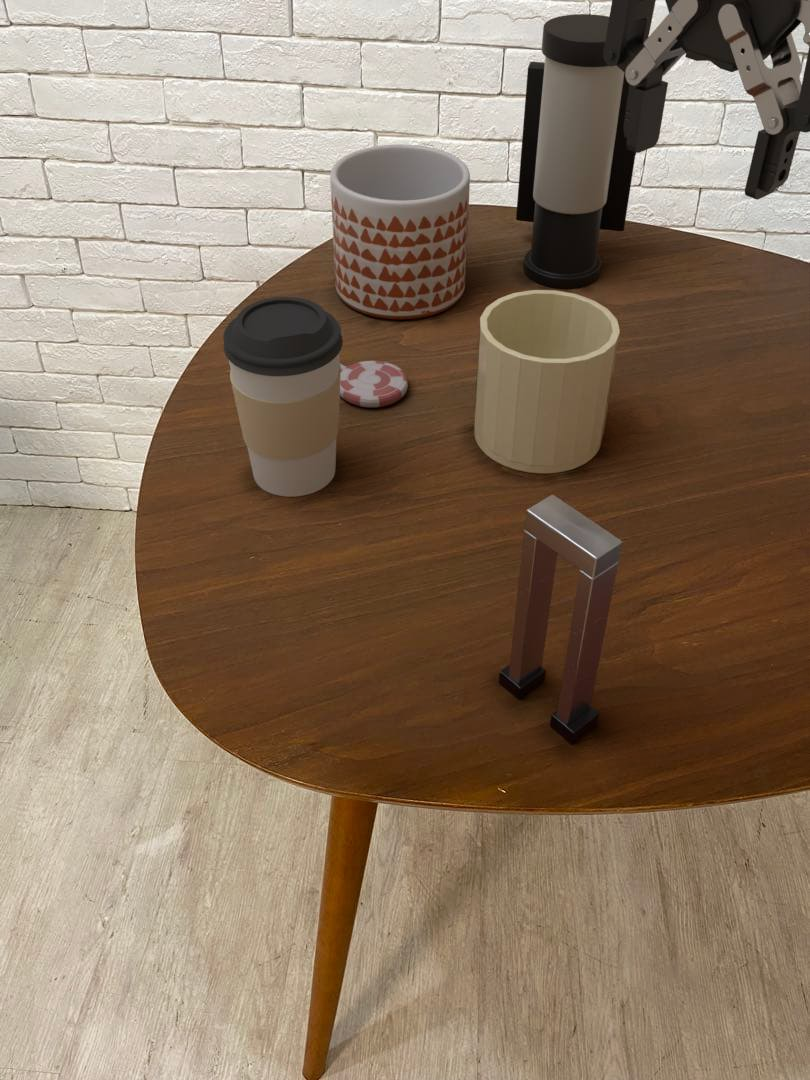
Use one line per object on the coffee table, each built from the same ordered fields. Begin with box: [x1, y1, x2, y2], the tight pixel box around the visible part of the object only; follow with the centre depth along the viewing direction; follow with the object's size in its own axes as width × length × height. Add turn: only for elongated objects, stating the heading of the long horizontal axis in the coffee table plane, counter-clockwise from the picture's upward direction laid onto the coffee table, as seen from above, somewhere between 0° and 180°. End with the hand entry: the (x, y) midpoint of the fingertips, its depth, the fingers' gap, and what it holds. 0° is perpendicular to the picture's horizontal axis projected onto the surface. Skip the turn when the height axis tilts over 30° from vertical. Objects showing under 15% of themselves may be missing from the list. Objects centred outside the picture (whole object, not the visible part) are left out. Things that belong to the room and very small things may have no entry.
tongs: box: [498, 494, 623, 745], centre depth 65 cm, size 7×2×16 cm, turn 40°
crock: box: [473, 289, 621, 474], centre depth 89 cm, size 11×11×11 cm
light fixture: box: [515, 13, 637, 289], centre depth 107 cm, size 12×11×25 cm
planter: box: [329, 143, 471, 321], centre depth 107 cm, size 14×14×13 cm
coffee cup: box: [222, 296, 344, 498], centre depth 83 cm, size 9×9×15 cm
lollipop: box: [339, 360, 409, 408], centre depth 99 cm, size 7×1×15 cm
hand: (698, 170), depth 61 cm, fingers open, 8 cm apart
